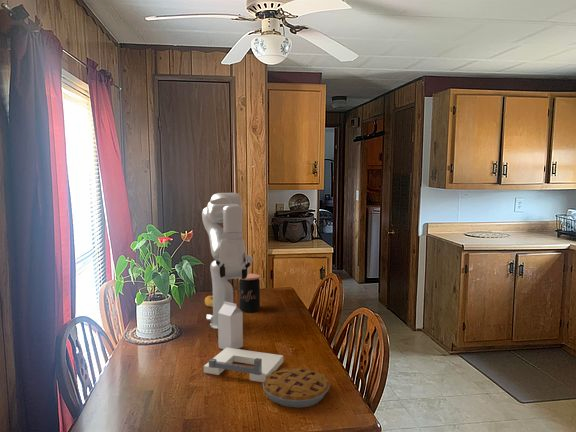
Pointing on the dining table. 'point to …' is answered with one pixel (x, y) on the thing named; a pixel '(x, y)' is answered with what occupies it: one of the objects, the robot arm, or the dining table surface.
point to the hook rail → (238, 366)
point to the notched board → (247, 362)
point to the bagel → (209, 301)
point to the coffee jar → (249, 293)
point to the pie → (296, 387)
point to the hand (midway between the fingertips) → (233, 277)
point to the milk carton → (230, 326)
